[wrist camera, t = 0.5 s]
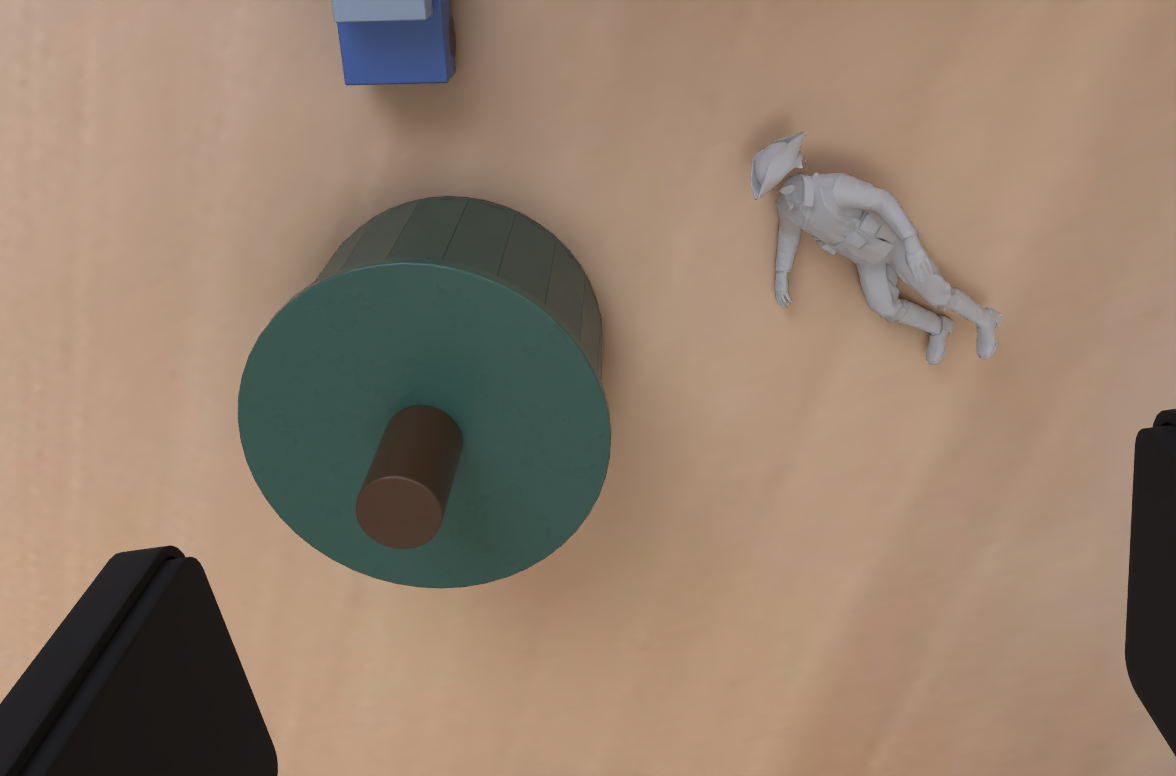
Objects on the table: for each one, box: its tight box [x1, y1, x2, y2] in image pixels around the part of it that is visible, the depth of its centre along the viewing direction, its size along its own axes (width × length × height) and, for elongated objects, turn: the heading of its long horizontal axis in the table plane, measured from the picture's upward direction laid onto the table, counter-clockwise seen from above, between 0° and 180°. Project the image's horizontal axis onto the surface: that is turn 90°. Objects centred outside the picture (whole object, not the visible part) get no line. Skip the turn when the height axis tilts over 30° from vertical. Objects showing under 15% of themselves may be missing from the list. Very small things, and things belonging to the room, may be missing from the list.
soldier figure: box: [751, 132, 1001, 365], centre depth 42 cm, size 8×5×12 cm
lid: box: [238, 257, 611, 588], centre depth 37 cm, size 13×13×6 cm
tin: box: [315, 196, 602, 379], centre depth 42 cm, size 12×12×8 cm
